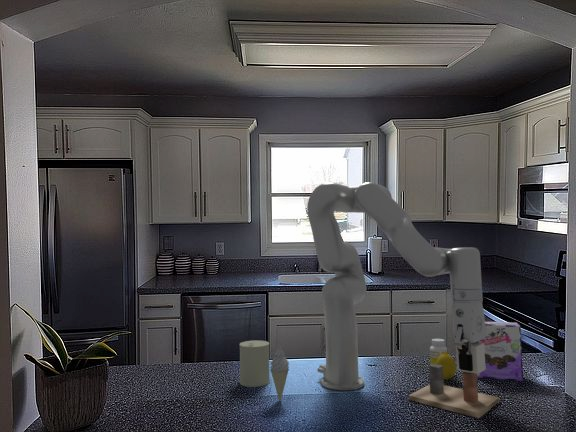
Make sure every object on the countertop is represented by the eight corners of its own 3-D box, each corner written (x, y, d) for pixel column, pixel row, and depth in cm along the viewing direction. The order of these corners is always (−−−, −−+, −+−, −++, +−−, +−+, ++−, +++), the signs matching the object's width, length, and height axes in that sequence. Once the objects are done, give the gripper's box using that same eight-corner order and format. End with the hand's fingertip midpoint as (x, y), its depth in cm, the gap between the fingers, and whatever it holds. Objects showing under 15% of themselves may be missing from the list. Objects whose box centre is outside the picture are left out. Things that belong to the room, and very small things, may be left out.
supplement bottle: (446, 368, 142) (445, 338, 142) (450, 373, 136) (448, 341, 137) (429, 368, 142) (428, 337, 143) (432, 372, 137) (431, 341, 138)
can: (234, 385, 127) (234, 344, 128) (246, 376, 136) (246, 338, 137) (263, 388, 124) (263, 346, 125) (274, 378, 133) (273, 339, 134)
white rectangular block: (456, 370, 109) (455, 343, 109) (465, 366, 113) (463, 340, 113) (477, 374, 105) (476, 346, 106) (485, 369, 109) (484, 343, 110)
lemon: (458, 383, 126) (457, 355, 127) (438, 382, 127) (437, 354, 128) (454, 377, 132) (453, 351, 132) (435, 376, 133) (434, 350, 133)
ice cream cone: (273, 405, 111) (272, 345, 112) (268, 398, 116) (267, 341, 117) (291, 402, 112) (290, 344, 113) (286, 396, 117) (285, 340, 118)
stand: (408, 400, 113) (407, 368, 114) (433, 387, 123) (432, 357, 124) (478, 418, 100) (477, 382, 101) (499, 402, 110) (497, 369, 111)
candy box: (473, 377, 131) (470, 323, 132) (471, 372, 137) (469, 320, 138) (524, 381, 127) (520, 325, 128) (520, 376, 132) (517, 321, 133)
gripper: (467, 299, 102) (472, 378, 100) (493, 293, 114) (498, 363, 113) (437, 297, 107) (441, 372, 106) (465, 291, 119) (469, 358, 118)
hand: (470, 366), depth 109 cm, fingers closed on white rectangular block, 5 cm apart
